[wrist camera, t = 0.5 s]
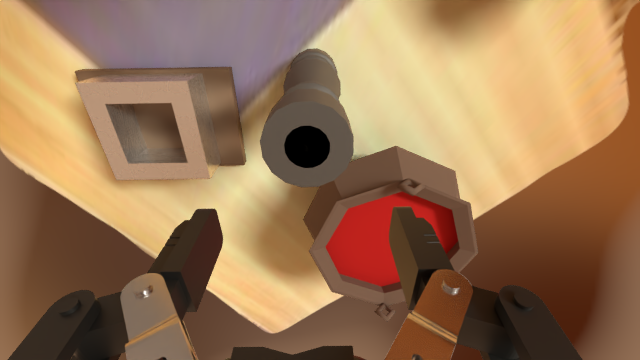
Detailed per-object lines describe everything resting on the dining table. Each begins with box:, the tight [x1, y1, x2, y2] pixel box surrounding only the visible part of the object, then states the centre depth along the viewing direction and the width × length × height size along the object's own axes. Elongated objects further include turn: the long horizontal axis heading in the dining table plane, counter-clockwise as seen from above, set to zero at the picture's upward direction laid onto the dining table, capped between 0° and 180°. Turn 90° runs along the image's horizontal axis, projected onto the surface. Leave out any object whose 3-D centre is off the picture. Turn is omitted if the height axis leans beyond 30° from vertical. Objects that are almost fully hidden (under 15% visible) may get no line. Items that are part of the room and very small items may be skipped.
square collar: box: [75, 73, 221, 180], centre depth 39 cm, size 13×13×5 cm
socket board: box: [75, 67, 246, 165], centre depth 42 cm, size 14×20×2 cm
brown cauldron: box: [303, 146, 478, 321], centre depth 42 cm, size 24×24×16 cm
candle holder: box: [260, 49, 353, 187], centre depth 28 cm, size 6×6×25 cm
